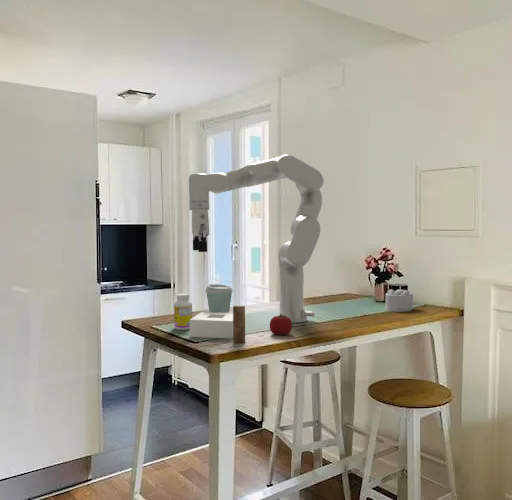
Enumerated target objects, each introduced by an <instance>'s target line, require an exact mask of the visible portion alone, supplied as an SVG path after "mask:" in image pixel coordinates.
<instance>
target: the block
mask: <svg viewBox="0 0 512 500" xmlns="http://www.w3.org/2000/svg"><path fill="white" fill-rule="evenodd" d="M189 338H212V339H213V338H214V339H233V312H229V313H222V312H209V311H201V312H199V313H198V314H196V315H195V316H194V317H193V316H192V319H190V329H189Z"/></svg>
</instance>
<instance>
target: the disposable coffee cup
mask: <svg viewBox="0 0 512 500" xmlns="http://www.w3.org/2000/svg"><path fill="white" fill-rule="evenodd" d="M232 293H233V288H232V287H231V286H230V285H226V284H219V283H218V284H216V283H214V284H213V283H212V284H208V285H206V288H205V294H206V298H207V305H208V312H222V313H230V311H231V310H230V309H231V302H232Z"/></svg>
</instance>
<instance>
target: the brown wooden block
mask: <svg viewBox="0 0 512 500" xmlns="http://www.w3.org/2000/svg"><path fill="white" fill-rule="evenodd" d="M232 313H233V338H232V342H233V343H234V344H238V345H239V344H245V343H246V306H245V305H241V304H239V305H233V306H232Z"/></svg>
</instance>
